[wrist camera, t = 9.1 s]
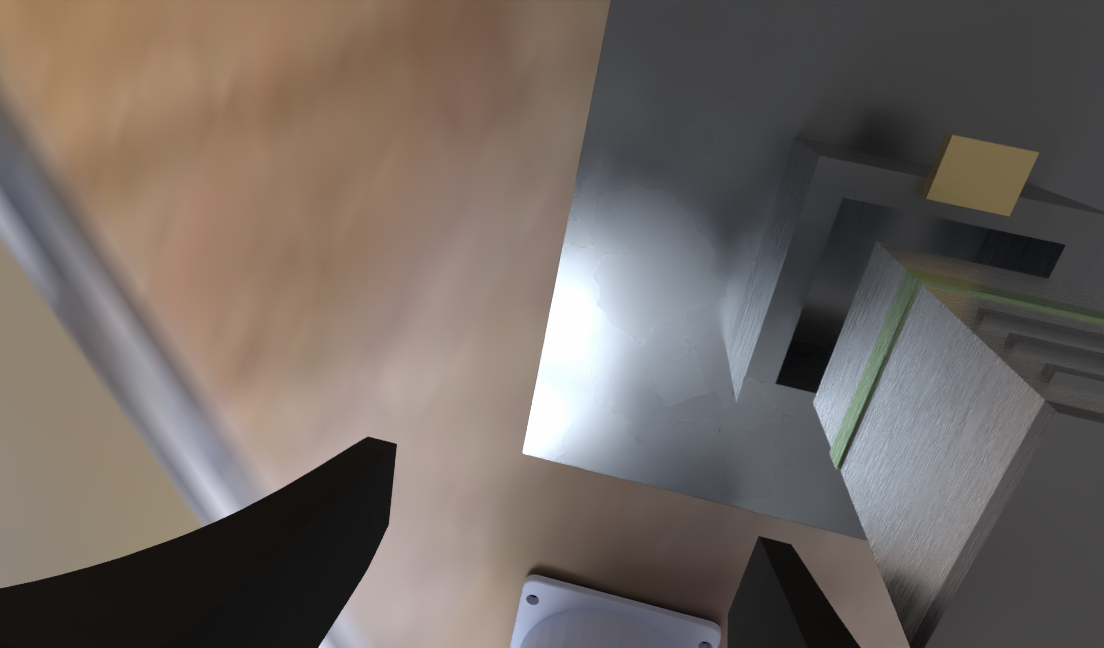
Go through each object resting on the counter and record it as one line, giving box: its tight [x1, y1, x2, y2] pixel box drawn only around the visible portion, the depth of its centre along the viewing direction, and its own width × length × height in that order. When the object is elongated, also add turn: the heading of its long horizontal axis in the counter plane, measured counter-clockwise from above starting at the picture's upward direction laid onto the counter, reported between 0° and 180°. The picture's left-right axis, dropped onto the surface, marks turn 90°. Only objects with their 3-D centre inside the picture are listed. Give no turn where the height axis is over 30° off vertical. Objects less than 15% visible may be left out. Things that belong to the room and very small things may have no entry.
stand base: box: [523, 0, 1104, 541], centre depth 18 cm, size 18×18×5 cm
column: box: [813, 241, 1104, 648], centre depth 11 cm, size 4×4×7 cm
